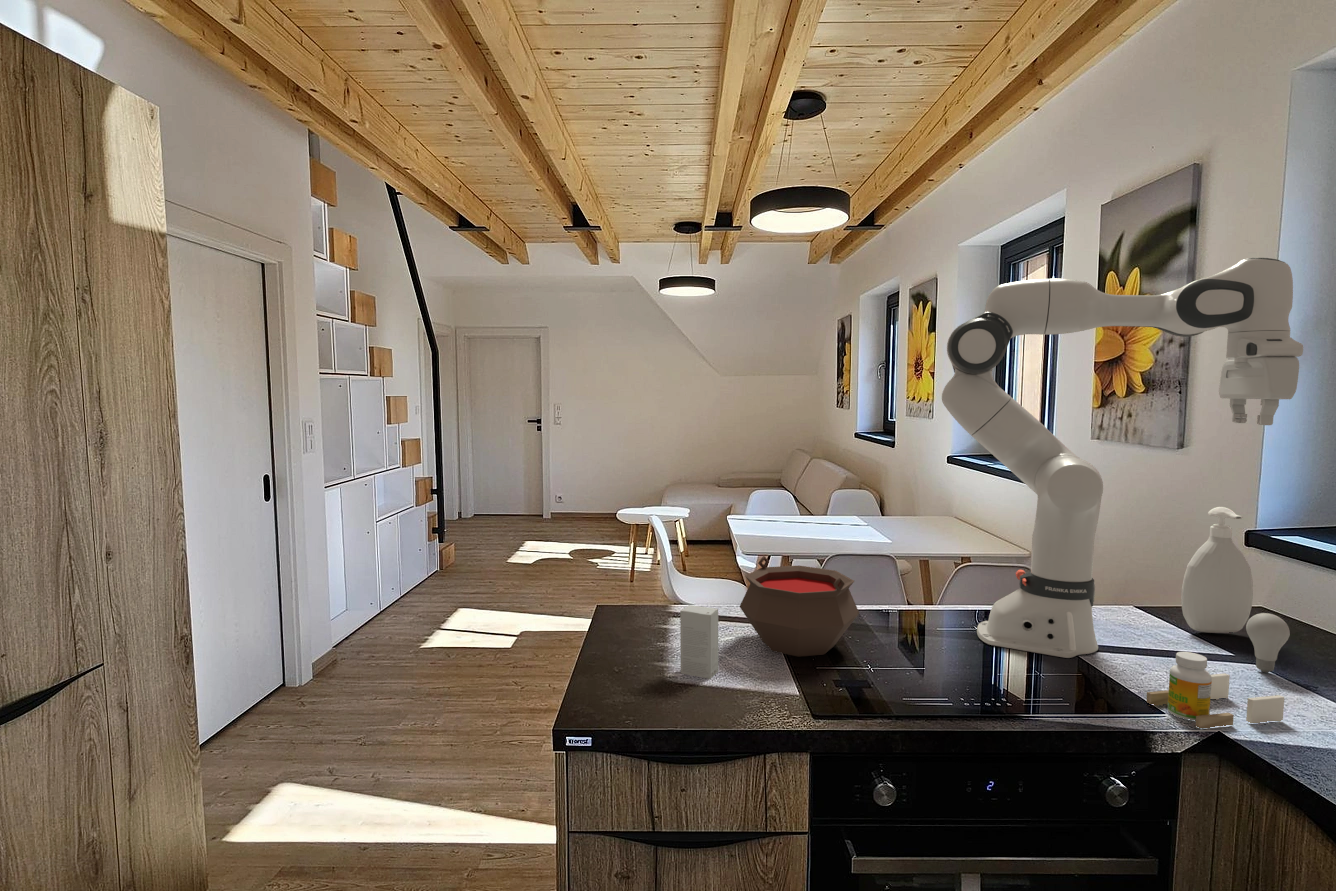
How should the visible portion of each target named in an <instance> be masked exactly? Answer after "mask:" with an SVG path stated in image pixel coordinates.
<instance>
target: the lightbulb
mask: <svg viewBox="0 0 1336 891" xmlns="http://www.w3.org/2000/svg"><path fill="white" fill-rule="evenodd" d="M1245 630H1246V633H1247V635H1248V637H1249V640H1250V641H1251V643H1252V645H1253V648H1254V656H1255V667H1256V668H1257V669H1258V670H1260V671H1261V672H1262V673H1266V674H1268V673H1270V672H1273V671H1274V670H1275V665H1276V661H1277V660H1278V655H1279V652H1280V651H1281V649H1282V647H1283V646H1284V645H1285V644H1286V643H1287V641H1288V640H1289V638H1290V636H1291V635H1290V633H1291V632H1290V628H1289V625H1288V623H1287V622H1285V620H1284V619H1282V618H1281V617H1280V616H1277V615H1275V614H1273V613H1268V612H1261V613H1256V614H1254V615H1252V616H1251V617H1249V618H1248V620H1247V622H1246V623H1245Z"/></svg>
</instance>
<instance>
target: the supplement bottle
mask: <svg viewBox="0 0 1336 891" xmlns="http://www.w3.org/2000/svg"><path fill="white" fill-rule="evenodd" d="M1175 663H1176V664H1174V665H1172V666H1171V667H1170V670H1169V678H1168V679H1169V680H1168V682H1169V683H1168V690H1169V694H1168V704H1167V711H1168V713H1169V712H1170V713H1171V714H1170V713H1169V714H1170V715H1172V714H1173V715H1175V716H1177V717H1176V718H1178V717H1180V718H1184V719H1190V720H1195V721H1196V716H1201V715H1211V714H1210V712H1211V700H1210V699H1211V684H1212V677H1211V675H1212V674H1210V672H1209V671H1208V670H1206V669H1207V667H1208V658H1207V657H1206V656H1204V655H1202V654H1199V653H1194V652H1190V651H1178V652H1176V654H1175ZM1173 715H1172V716H1173ZM1175 716H1174V717H1175ZM1180 718H1179V719H1180Z"/></svg>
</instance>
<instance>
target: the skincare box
mask: <svg viewBox="0 0 1336 891" xmlns="http://www.w3.org/2000/svg"><path fill="white" fill-rule="evenodd" d="M679 614H680V615H679V616H680V617H679V618H680V619H679V620H680V625H679V626H680V633H679V635H680V638H679V639H680V674H681V675H686V676H687V675H688V676H691V677H698V678H703V679H708V680H711V679H712V678H713V677H715V675H717V674H718V673H719V608H717V607H716V608H714V607H707V606H699V605H691V604H688V605H687V606H685V607H684V608H683V609H681V610H680V612H679Z"/></svg>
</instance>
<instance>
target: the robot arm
mask: <svg viewBox="0 0 1336 891" xmlns="http://www.w3.org/2000/svg"><path fill="white" fill-rule="evenodd" d="M1293 279H1294V278H1293V273H1292V269H1291V267H1290V265H1289V264H1288V263H1287V262H1285V261H1282V260H1280V259H1277V258H1276V259H1275V258H1269V257H1249V258H1244V259H1241V260H1239V261H1238V262H1237V263H1235V264H1234V265H1231V266H1229V267H1228V268H1226V269H1224V270H1222V271H1220V272H1217V273H1214V274H1212V275H1209V276H1207V277H1202V278H1200V279H1197V280H1194V281H1192V282H1190V283H1187V284H1185V285H1184V286H1181V287H1177V288H1175V289H1173V290H1170V291H1167V292H1165V293H1160V294H1154V295H1152V294H1151V295H1149V294H1147V295H1145V294H1144V295H1143V294H1142V295H1141V294H1139V295H1138V294H1137V295H1136V294H1110V293H1106V292H1103V291H1100V290H1099V289H1097V288H1096V287H1094V286H1093V285H1091V284H1090V283H1089V282H1087V281H1085V280H1084V281H1083V280H1077V279H1076V280H1075V279H1069V278H1039V279H1038V278H1037V279H1025V280H1019V281H1012V282H1008V283H1007V282H1006V283H1003V284H999V285H997V286H996V287H994V288H993V289H992V290H991V292H990V293H989V295H988V296H987V299H986V302H985V309H984V312H983V313H981V314H979V315H977V316H975V317H973V318H972V319H971V318H970V319H969V320H968V321H965V322H963V323H961V324H960V325H958V326H957V327H956V328H955V329H954V330H953V331H952V332H951V333H950V335H949V337H948V340H947V344H946V351H947V352H946V354H947V356H948V359H949V362H950V363H951V365H952V369H953V373H954V374H953V376H952V378H950V380H949V381H948V382H947V383H946V384H945V386H944V388H943V391H942V393H941V402H942V403H943V406H944V407H945V408H946V410H947V411H948V412H949V414H950V415H951V417H952V418H954V419H955V421H956V422H957V423H958V424H959V425H960V426H961V427H962V429H964V430H965V431H966V433H967V434H969V435H970V436H971V437H972V438H973V439H974V440H975V441H977V442H978V443H979V444H980V445H981V446H982V447H983V448H984V449H985V450H986V451H988V452H989V453H990V454H991V455H993V457H994V458H995V459H997V460H998V461H999V463H1001V464H1002V465H1004V466H1005V467H1006V468H1007V469H1008V470H1009V471H1011V473H1012V474H1013V475H1015V476H1016V477H1017V478H1018V479H1019V480H1020V481H1021V482H1022V483H1024V484H1025V485H1026V486H1027V488H1029V489H1031V491H1032V492H1034V493H1035V494H1036V495H1037V500H1036V501H1037V503H1036V504H1037V505H1036V513H1035V518H1034V519H1035V520H1034V527H1033V531H1032V534H1031V536H1032V537H1031V539H1032V540H1031V544H1032V545H1031V559H1030V560H1031V564H1030V570H1029V571H1027V572H1025V570H1024V569H1018V570H1017V571H1015V576H1016V579H1017V580H1019V588H1018V589H1016V590H1014V591H1013V592H1011V593H1009V594H1007V595H1006V596H1003V597H1002V598H999V599H998V600H997V601H995V602H994V604H992V606H991V608H990V611H989V612H990V613H989V615H988V620H983V621H981V622H979V623H978V625H977V628H976V634H977V637H978V638H979V639H980V640H981V641H982V642H983V643H985V644H987V645H989V646H990V645H991V646H995V647H1001V648H1006V649H1007V648H1008V649H1014V650H1019V651H1024V652H1029V653H1030V652H1031V653H1036V654H1040V655H1041V654H1042V655H1048V656H1053V657H1060V658H1066V659H1070V658H1074V657H1076V656H1078V655H1079V656H1080V655H1086V654H1087V655H1088V654H1093V653H1095V652H1097V651H1098V650H1099V644H1098V641H1097V638H1096V634H1095V627H1094V620H1093V618H1094V616H1093V606H1094V602H1095V596H1096V595H1095V593H1096V592H1095V591H1096V584H1095V579H1094V578H1093V566H1094V564H1093V563H1094V551H1095V550H1094V547H1095V546H1094V545H1095V537H1096V531H1097V527H1098V521H1099V516H1100V513H1101V503H1102V496H1103V493H1104V481H1103V478H1102V475H1101V474H1100V472H1099V470H1098V468H1096V467H1095V465H1093V464H1091V463H1090V462H1089V461H1086V460H1084V459H1082V458H1080V457H1079V456H1077V455H1076V454H1075V453H1074V452H1073V451H1072V450H1070V448H1068V447H1067V446H1066V445H1065V444H1064V443H1063V442H1062V441H1061V440H1059V438H1057V437H1056V436H1055V435H1054V434H1053V433H1052V432H1051V431H1050V430H1049V429H1048V428H1047V427H1046V426H1045V425H1044V424H1043V423H1042V422H1040V420H1038V419H1037V418H1036V417H1035V416H1034V415H1032V414H1031V413H1030V412H1029V411H1028V410H1027V409H1026V408H1024V407H1023V406H1022V405H1021V404H1020V403H1019V402H1017V400H1015V399H1014V398H1013V397H1012V396H1011V395H1010V394H1008V393H1007V392H1006V391H1005V390H1004V389H1002V387H1000V386H999V385H998V383H997V382H996V380H995V379H994V376H993V369H994V368H995V367H996V366H998V364H999V363H1000V362H1001V361H1002V360H1003V357H1004V356H1005V354H1006V352H1007V349H1008V345H1009V344H1010V341H1011V339H1012V338H1014V337H1017V336H1023V335H1024V336H1025V335H1046V336H1048V335H1062V334H1064V335H1065V334H1074V333H1078V332H1084V331H1088V330H1092V329H1097V328H1103V327H1132V328H1133V327H1134V328H1135V327H1136V328H1137V327H1138V328H1140V327H1141V328H1142V327H1143V328H1154V329H1157V330H1160V331H1162V332H1165V333H1166V334H1167V333H1168V334H1170V335H1172V336H1176V337H1182V338H1183V337H1185V338H1188V337H1195V336H1198V335H1201V334H1203V333H1205V332H1207V331H1211V330H1214V329H1217V328H1225V329H1227V341H1226V354H1225V357H1226V359H1227V360H1225V361H1223V362H1224V363H1223V364H1222V366H1221V370H1220V378H1219V385H1218V386H1219V387H1218V395H1219V397H1220V399H1229V406H1230V410H1231V414H1232V418H1231V419H1232V420H1231V421H1232V423H1233V424H1245V423H1247V420H1248V413H1246V407H1245V406H1246V405H1247V400H1260V406H1261V408H1260V412H1259V414H1257V416H1256V417H1257V421H1256V423H1257V424H1258V426H1272V425H1273V424H1274V415H1276V413H1277V410H1278V408H1279V406H1280V400H1291V399H1292V398H1293V397H1294V395H1295V394H1296V391H1297V388H1298V382H1299V373H1300V360H1299V358H1298V357H1301V356H1303V353H1304V345H1303V343H1301V342H1299V341H1297V340H1295V339H1294V338H1292V337H1291V327H1290V322H1289V317H1290V313H1291V311H1292V308H1293V302H1294V301H1293V299H1294V282H1293Z"/></svg>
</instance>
